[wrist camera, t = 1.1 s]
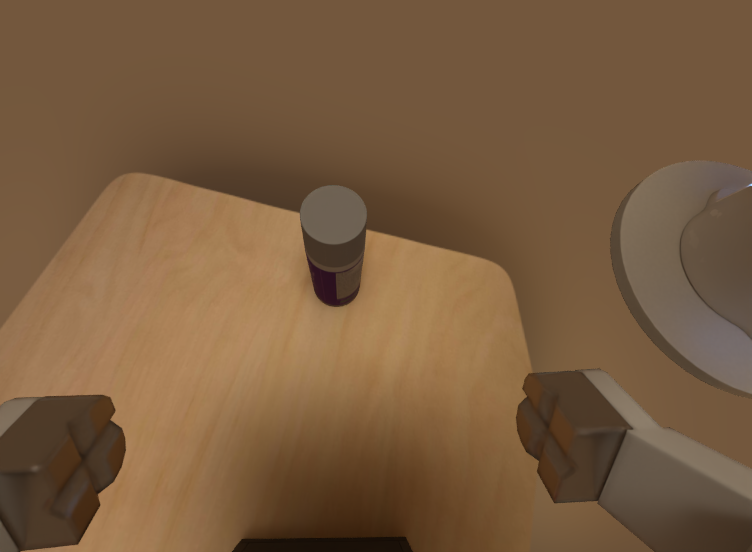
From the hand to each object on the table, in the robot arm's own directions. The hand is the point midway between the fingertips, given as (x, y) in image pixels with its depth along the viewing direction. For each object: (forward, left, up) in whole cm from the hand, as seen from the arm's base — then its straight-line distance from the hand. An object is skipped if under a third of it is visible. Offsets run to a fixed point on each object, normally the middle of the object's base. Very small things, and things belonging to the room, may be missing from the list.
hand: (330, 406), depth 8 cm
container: (+1, -12, -30) cm, 32 cm away
